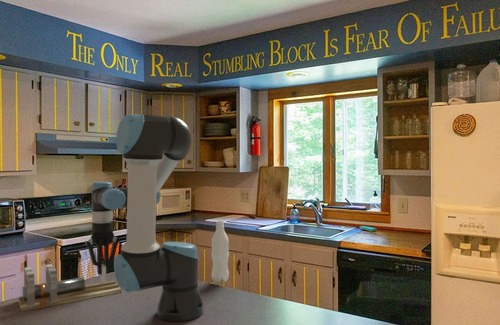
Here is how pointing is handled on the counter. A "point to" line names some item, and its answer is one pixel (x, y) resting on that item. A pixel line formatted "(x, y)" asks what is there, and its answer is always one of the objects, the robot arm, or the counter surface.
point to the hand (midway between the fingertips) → (103, 282)
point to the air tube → (62, 288)
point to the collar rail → (55, 299)
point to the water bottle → (220, 254)
